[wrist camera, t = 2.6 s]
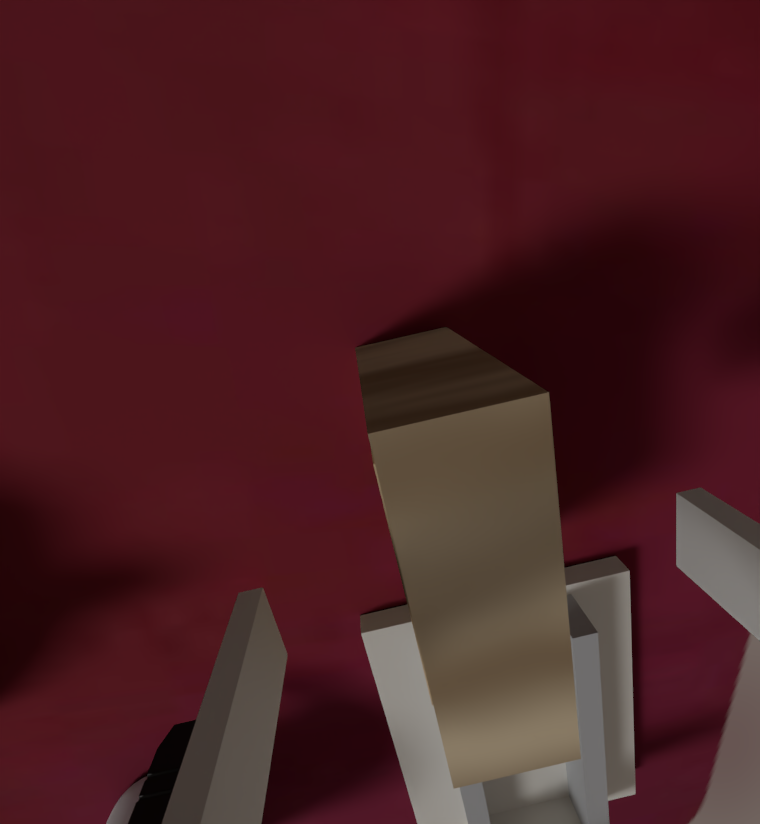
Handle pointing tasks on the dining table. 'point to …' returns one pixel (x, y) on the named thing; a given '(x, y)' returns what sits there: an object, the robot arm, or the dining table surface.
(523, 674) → the door panel
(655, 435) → the dining table surface
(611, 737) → the white stand
